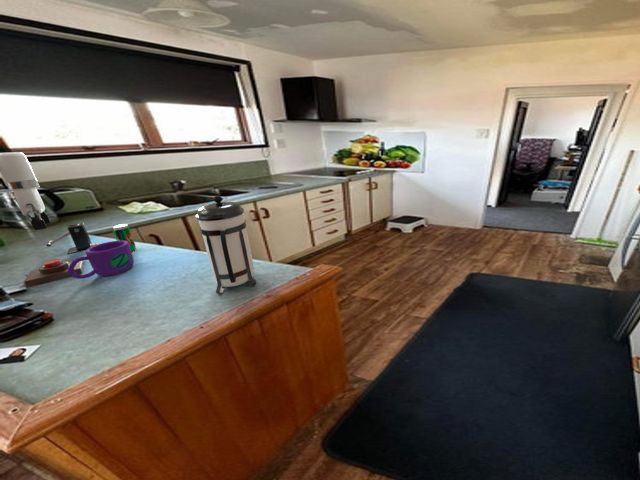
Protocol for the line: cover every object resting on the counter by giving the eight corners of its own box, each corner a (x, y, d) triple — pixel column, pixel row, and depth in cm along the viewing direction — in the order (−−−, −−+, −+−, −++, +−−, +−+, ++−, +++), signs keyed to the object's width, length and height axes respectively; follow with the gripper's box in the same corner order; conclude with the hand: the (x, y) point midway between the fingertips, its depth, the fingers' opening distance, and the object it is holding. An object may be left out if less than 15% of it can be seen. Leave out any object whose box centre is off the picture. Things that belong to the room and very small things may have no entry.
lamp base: (27, 287, 91) (21, 276, 90) (33, 275, 99) (28, 266, 98) (82, 273, 100) (78, 263, 99) (84, 264, 107) (80, 254, 106)
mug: (125, 261, 109) (116, 238, 105) (143, 265, 105) (135, 241, 102) (65, 283, 93) (53, 257, 90) (84, 289, 89) (72, 262, 86)
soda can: (120, 252, 117) (110, 226, 114) (135, 248, 121) (126, 223, 117) (123, 255, 115) (113, 228, 111) (138, 250, 119) (129, 225, 115)
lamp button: (44, 269, 96) (42, 265, 95) (46, 266, 98) (44, 261, 98) (61, 265, 98) (59, 261, 98) (62, 262, 101) (60, 258, 100)
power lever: (50, 248, 112) (44, 244, 111) (51, 245, 116) (45, 241, 114) (83, 230, 118) (77, 226, 116) (83, 227, 121) (78, 223, 120)
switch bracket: (68, 255, 115) (57, 230, 111) (70, 250, 121) (59, 225, 117) (101, 248, 122) (91, 224, 118) (101, 244, 127) (92, 220, 123)
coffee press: (197, 291, 86) (171, 200, 77) (239, 268, 100) (221, 189, 91) (236, 302, 80) (214, 205, 71) (275, 276, 94) (261, 192, 85)
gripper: (13, 184, 109) (33, 224, 115) (1, 189, 97) (24, 234, 103) (42, 181, 114) (59, 219, 119) (34, 186, 102) (53, 228, 107)
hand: (43, 226), depth 111 cm, fingers open, 9 cm apart
